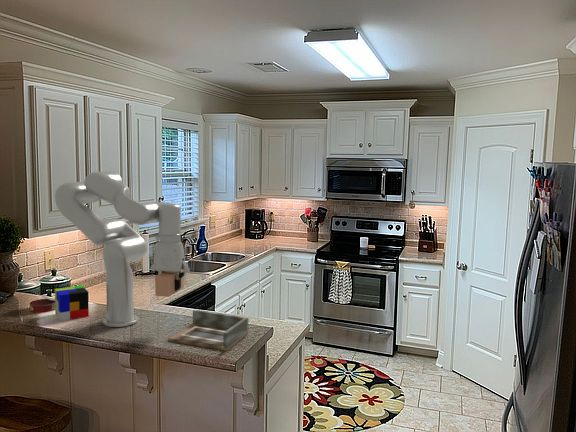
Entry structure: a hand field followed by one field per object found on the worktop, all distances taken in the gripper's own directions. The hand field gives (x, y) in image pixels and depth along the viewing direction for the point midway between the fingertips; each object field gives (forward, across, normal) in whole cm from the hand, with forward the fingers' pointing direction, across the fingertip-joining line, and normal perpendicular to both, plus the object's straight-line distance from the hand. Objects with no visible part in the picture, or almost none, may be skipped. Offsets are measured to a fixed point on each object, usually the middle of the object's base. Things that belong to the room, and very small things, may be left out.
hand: (170, 288), depth 169 cm
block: (+1, 0, 0) cm, 1 cm away
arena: (+16, +16, -2) cm, 22 cm away
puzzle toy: (+16, -44, +5) cm, 47 cm away
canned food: (+16, -59, +9) cm, 62 cm away
